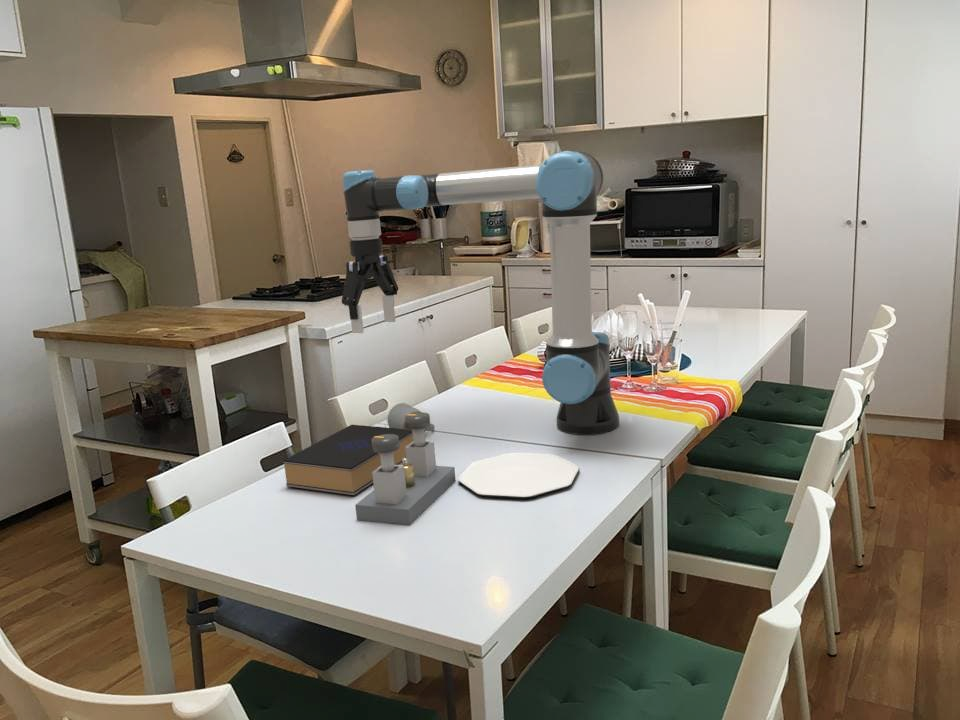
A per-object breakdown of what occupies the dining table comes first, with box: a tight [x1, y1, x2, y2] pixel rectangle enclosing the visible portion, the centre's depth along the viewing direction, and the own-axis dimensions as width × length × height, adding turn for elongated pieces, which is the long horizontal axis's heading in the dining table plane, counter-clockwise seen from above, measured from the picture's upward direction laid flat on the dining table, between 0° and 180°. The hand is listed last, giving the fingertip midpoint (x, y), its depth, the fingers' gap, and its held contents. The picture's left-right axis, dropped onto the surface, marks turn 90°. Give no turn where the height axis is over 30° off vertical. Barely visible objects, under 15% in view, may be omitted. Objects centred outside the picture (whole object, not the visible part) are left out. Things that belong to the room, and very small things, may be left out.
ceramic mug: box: [387, 402, 436, 433], centre depth 199 cm, size 11×8×8 cm
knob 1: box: [372, 434, 400, 472], centre depth 151 cm, size 5×5×8 cm
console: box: [354, 440, 456, 526], centre depth 159 cm, size 11×22×9 cm, turn 159°
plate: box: [457, 452, 580, 499], centre depth 167 cm, size 24×24×2 cm
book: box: [282, 424, 413, 496], centre depth 177 cm, size 17×25×7 cm
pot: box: [400, 458, 415, 488], centre depth 158 cm, size 3×3×6 cm
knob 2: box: [405, 411, 431, 447], centre depth 164 cm, size 5×5×8 cm
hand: (374, 327), depth 194 cm, fingers open, 13 cm apart
